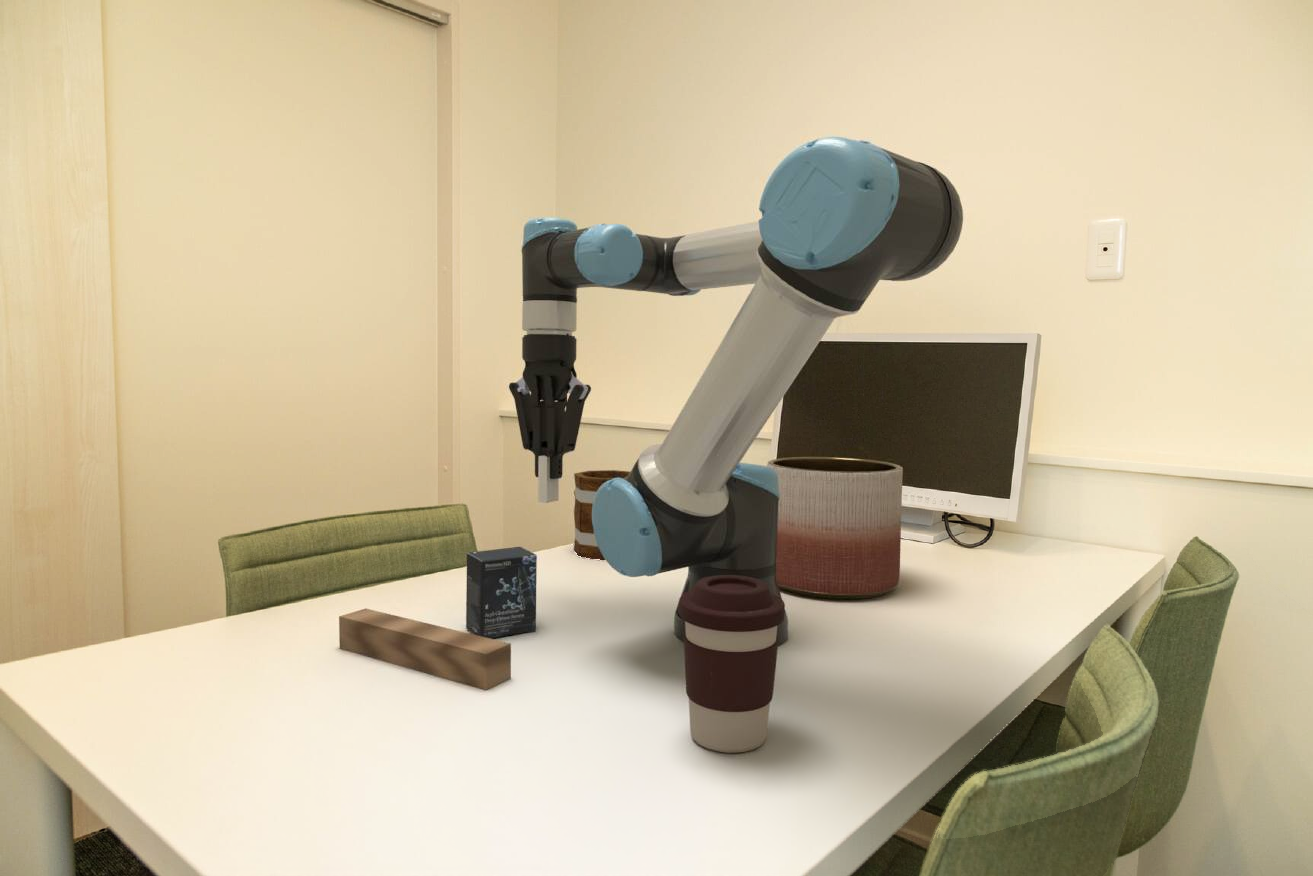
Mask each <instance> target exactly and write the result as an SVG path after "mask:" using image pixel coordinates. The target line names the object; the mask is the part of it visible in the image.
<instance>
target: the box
mask: <svg viewBox="0 0 1313 876" xmlns="http://www.w3.org/2000/svg"><path fill="white" fill-rule="evenodd" d="M537 560H538V556H537V554H535V553H533V552H531V551H529V550H527V549H526V548H523V546H515V547H514V546H513V547H507V548H497V549H489V550H488V549H487V550H480V551H478V550H477V551H467V552H466V586H465V587H466V589H465V590H466V593H465V594H466V598H465V602H466V603H465V605H466V607H465V608H466V611H465V618H466V619H465V623H466V624H465V629H466V630H467V631H468V633H470V634H473V635H478V636H482V637H486V638H490V639H494V638H499V637H505V636H506V637H507V636H511V635H517V634H524V633H532V632H533V633H534V632H536V630H537V572H538V571H537V567H538V566H537V563H538V561H537Z"/></svg>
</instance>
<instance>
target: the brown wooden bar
mask: <svg viewBox="0 0 1313 876" xmlns="http://www.w3.org/2000/svg"><path fill="white" fill-rule="evenodd" d="M338 619H339V620H338V627H339V628H338V633H339V639H338V640H339V649H342V650H345V651H348V652H352V653H355V654H359V655H363V656H366V657H369V658H373V659H377V660H381V661H384V662H387V663H390V664H394V665H398V666H401V667H405V668H407V669H411V670H415V671H419V672H423V673H426V674H428V675H433V676H436V677H439V678H443V679H446V680H450V681H453V682H457V683H460V684H464V685H467V686H471V687H473V688H474V687H475V688H478V689H481V690H485V691H488V690H489V689H491V688H494V687H495V686H498V685H500V684H502V683H504V682H507V681H508V680H510V679H511V678H512V673H511V672H512V643H511V642H505V641H502V640H498V639H494V638H486V637H482V636H478V635H473V634H472V633H470V632H464V631H460V630H456V629H452V628H447V627H445V626H440V625H436V624H431V623H429V622H428V623H427V622H424V621H421V620H420V621H419V620H416V619H415V620H414V619H411V618H406V617H402V616H398V615H395V614H390V613H387V612H381V611H378V610H373V609H370V608H366V607H365V608H362V609H360V610H356V611H352V612H349V613H346V614H342V615H339V616H338Z"/></svg>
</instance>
